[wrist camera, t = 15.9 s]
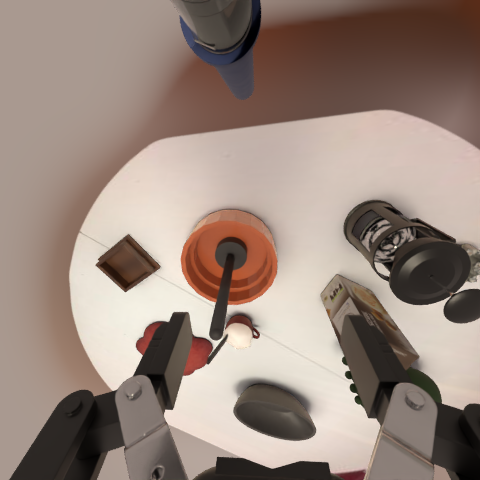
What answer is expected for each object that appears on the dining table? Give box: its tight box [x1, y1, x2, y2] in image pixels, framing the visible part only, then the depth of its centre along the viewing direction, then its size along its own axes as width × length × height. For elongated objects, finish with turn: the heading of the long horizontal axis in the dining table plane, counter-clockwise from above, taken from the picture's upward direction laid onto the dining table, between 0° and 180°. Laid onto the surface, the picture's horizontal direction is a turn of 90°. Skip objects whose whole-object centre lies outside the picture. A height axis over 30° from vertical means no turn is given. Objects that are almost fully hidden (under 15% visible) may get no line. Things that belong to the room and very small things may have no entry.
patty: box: [136, 322, 212, 376], centre depth 60 cm, size 18×14×2 cm
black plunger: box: [209, 237, 247, 340], centre depth 38 cm, size 6×6×22 cm
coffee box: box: [321, 275, 420, 370], centre depth 44 cm, size 9×6×16 cm
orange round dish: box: [181, 210, 277, 305], centre depth 46 cm, size 17×17×6 cm
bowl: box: [233, 384, 316, 441], centre depth 63 cm, size 12×22×6 cm, turn 62°
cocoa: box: [207, 315, 260, 364], centre depth 51 cm, size 10×6×12 cm, turn 53°
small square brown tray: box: [96, 234, 160, 292], centre depth 50 cm, size 9×9×3 cm
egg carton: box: [461, 244, 480, 282], centre depth 45 cm, size 11×8×4 cm
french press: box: [344, 200, 480, 323], centre depth 34 cm, size 12×9×23 cm
